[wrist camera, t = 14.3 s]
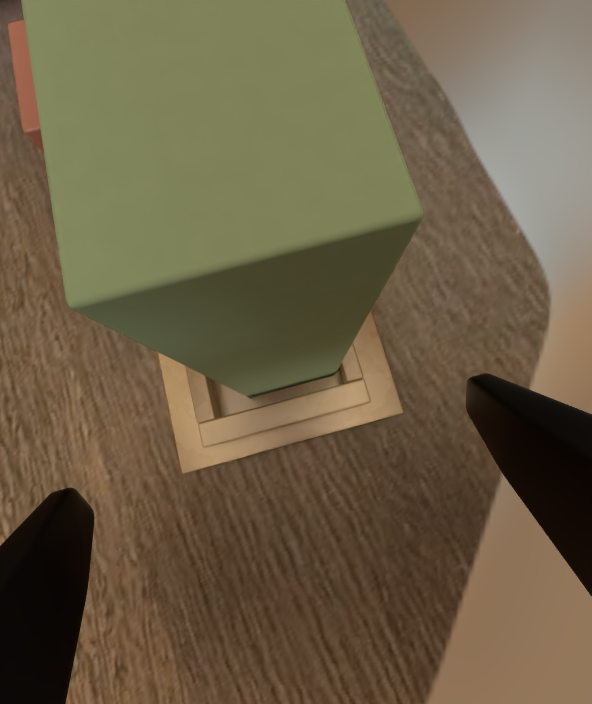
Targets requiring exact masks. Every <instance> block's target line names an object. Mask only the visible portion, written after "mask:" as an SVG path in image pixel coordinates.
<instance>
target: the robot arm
mask: <svg viewBox="0 0 592 704" xmlns="http://www.w3.org/2000/svg"><path fill="white" fill-rule="evenodd" d="M466 409H467V412H468V414H469V416H470V418H471V420H472V421H473V423H474V425H475V427H476V428H477V430H478V432H479V434H480V435H481V437H482V439H483V441H484V442H485V444H486V446H487V448H488V449H489V451H490V453H491V455H492V456H493V458H494V460H495V462H496V463H497V465H498V467H499V468H500V470H501V472H502V473H503V475H504V476H505V477H506V479H507V480H508V482H509V483H510V484H511V486H512V487H513V489H514V490H515V492H516V493H517V494H518V496H519V497H520V498H521V500H522V501H523V502H524V504H525V505H526V507H527V508H528V509H529V511H530V512H531V513H532V515H533V516H534V518H535V519H536V520H537V522H538V523H539V525H540V526H541V527H542V528H543V530H544V531H545V533H546V534H547V536H548V537H549V538H550V540H551V541H552V542H553V544H554V545H555V547H556V548H557V549H558V551H559V552H560V553H561V555H562V556H563V558H564V559H565V560H566V562H567V563H568V564H569V566H570V567H571V569H572V570H573V571H574V573H575V574H576V575H577V577H578V578H579V580H580V581H581V582H582V584H583V585H584V587H585V588H586V589H587V591H588V592H589V594H590V595H591V596H592V414H589V413H587V412H584V411H582V410H579V409H577V408H574V407H572V406H569V405H567V404H564V403H562V402H559V401H556V400H554V399H551V398H549V397H546V396H544V395H541V394H539V393H536V392H533V391H531V390H529V389H526V388H524V387H521V386H519V385H516V384H514V383H511V382H509V381H506V380H504V379H501V378H499V377H496V376H494V375H491V374H487V373H485V374H481V375H477V376H473V377H471V378H469V379H468V381H467V392H466ZM93 529H94V512H93V510H92V508H91V506H90V505H89V504H88V503H87V502H86V501H85V499H84V498H83V497H82V496H81V495H80V494H79V493H78V491H77V490H76V489H73V488H66V489H63V490H59V491H55V492H53V493H51V494H50V495H49V496H48V497H47V498H46V499H45V500H44V501H43V502H42V503H41V504H40V505H39V506H38V507H37V508H36V509H35V510H34V511H33V512H32V513H31V515H30V516H29V517H28V518H27V519H26V520H25V521H24V522H23V523H22V524H21V525H20V526H19V527H18V528H17V529H16V530H15V531H14V532H13V533H12V534H11V535H10V536H9V537H8V538H7V540H6V541H5V542H4V543H3V544H2V545H1V546H0V704H65V703H66V698H67V693H68V688H69V683H70V677H71V672H72V667H73V662H74V657H75V652H76V647H77V642H78V637H79V632H80V627H81V622H82V616H83V611H84V606H85V601H86V595H87V589H88V581H89V572H90V561H91V550H92V540H93Z"/></svg>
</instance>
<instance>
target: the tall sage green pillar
mask: <svg viewBox="0 0 592 704" xmlns="http://www.w3.org/2000/svg"><path fill="white" fill-rule="evenodd" d="M21 1H22V8H23V15H24V21H25V28H26V35H27V42H28V48H29V55H30V62H31V68H32V75H33V82H34V89H35V95H36V102H37V109H38V115H39V122H40V129H41V136H42V142H43V149H44V156H45V162H46V169H47V176H48V183H49V189H50V196H51V203H52V210H53V216H54V223H55V230H56V236H57V243H58V250H59V257H60V263H61V270H62V277H63V283H64V290H65V297H66V302H67V304H68V305H69V307H70V308H71V309H73V310H75V311H77V312H79V313H81V314H83V315H85V316H87V317H89V318H91V319H93V320H95V321H97V322H99V323H101V324H103V325H105V326H107V327H109V328H111V329H113V330H115V331H117V332H119V333H121V334H123V335H125V336H127V337H129V338H131V339H133V340H135V341H137V342H139V343H141V344H143V345H145V346H147V347H149V348H151V349H153V350H155V351H157V352H159V353H161V354H163V355H165V356H167V357H169V358H171V359H173V360H175V361H177V362H179V363H181V364H183V365H185V366H187V367H189V368H191V369H193V370H195V371H197V372H199V373H201V374H203V375H205V376H207V377H209V378H211V379H213V380H215V381H217V382H219V383H221V384H223V385H225V386H227V387H229V388H231V389H233V390H235V391H237V392H239V393H241V394H243V395H245V396H247V397H249V398H252V397H256V396H260V395H263V394H267V393H271V392H274V391H278V390H282V389H286V388H289V387H293V386H297V385H301V384H304V383H308V382H312V381H316V380H319V379H323V378H327V377H331V376H334V375H335V374H336V372H337V370H338V368H339V366H340V365H341V363H342V361H343V359H344V357H345V356H346V354H347V352H348V350H349V349H350V347H351V345H352V343H353V341H354V340H355V338H356V336H357V334H358V332H359V331H360V329H361V327H362V325H363V323H364V322H365V320H366V318H367V316H368V315H369V313H370V311H371V309H372V307H373V306H374V304H375V302H376V300H377V298H378V297H379V295H380V293H381V291H382V289H383V288H384V286H385V284H386V282H387V281H388V279H389V277H390V275H391V273H392V272H393V270H394V268H395V266H396V264H397V263H398V261H399V259H400V257H401V256H402V254H403V252H404V250H405V248H406V247H407V245H408V243H409V241H410V239H411V238H412V236H413V234H414V232H415V230H416V229H417V227H418V225H419V223H420V222H421V220H422V218H423V209H422V206H421V204H420V201H419V198H418V195H417V193H416V190H415V187H414V185H413V182H412V179H411V176H410V174H409V171H408V168H407V166H406V163H405V160H404V157H403V155H402V152H401V149H400V147H399V144H398V141H397V138H396V136H395V133H394V130H393V128H392V125H391V122H390V119H389V117H388V114H387V111H386V109H385V106H384V103H383V100H382V98H381V95H380V92H379V90H378V87H377V84H376V81H375V79H374V76H373V73H372V71H371V68H370V65H369V62H368V60H367V57H366V54H365V52H364V49H363V46H362V43H361V41H360V38H359V35H358V33H357V30H356V27H355V24H354V22H353V19H352V16H351V14H350V11H349V8H348V5H347V3H346V0H21Z"/></svg>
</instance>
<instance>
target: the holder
mask: <svg viewBox="0 0 592 704" xmlns="http://www.w3.org/2000/svg"><path fill="white" fill-rule="evenodd" d="M8 32H9V39H10V46H11V53H12V60H13V67H14V74H15V81H16V88H17V95H18V103H19V110H20V117H21V124H22V129H23V132H24V133H25V134H26V135H27V136H28V137H29V139H30V140H31V141H32V142H33V143H34V144H35V145H36V146H37V147H38V148H39V149H40V150H41V151H42V152H43V153H44V149H43V142H42V136H41V129H40V122H39V115H38V109H37V102H36V95H35V89H34V82H33V75H32V68H31V62H30V55H29V48H28V42H27V35H26V28H25V21H24V20H20V21H15V22H11V23H9V24H8ZM158 356H159V361H160V366H161V371H162V376H163V381H164V386H165V391H166V396H167V401H168V406H169V411H170V416H171V421H172V426H173V431H174V436H175V441H176V446H177V451H178V456H179V461H180V466H181V471H182V474H184V473H188V472H191V471H195V470H199V469H202V468H206V467H210V466H213V465H217V464H220V463H224V462H228V461H231V460H235V459H239V458H242V457H246V456H250V455H253V454H257V453H260V452H264V451H268V450H271V449H275V448H279V447H282V446H286V445H289V444H293V443H297V442H300V441H304V440H308V439H311V438H315V437H319V436H322V435H326V434H329V433H333V432H337V431H340V430H344V429H348V428H351V427H355V426H359V425H362V424H366V423H369V422H373V421H377V420H380V419H384V418H388V417H391V416H395V415H398V414H402V413H403V412H404V411H403V408H402V405H401V402H400V399H399V396H398V393H397V390H396V387H395V383H394V380H393V377H392V374H391V371H390V368H389V365H388V362H387V359H386V356H385V352H384V349H383V346H382V343H381V340H380V337H379V334H378V331H377V328H376V325H375V321H374V318H373V315H372V312H371V311H370V313H369V315H368V316H367V318H366V320H365V322H364V323H363V325H362V327H361V329H360V331H359V332H358V334H357V336H356V338H355V340H354V341H353V343H352V345H351V347H350V349H349V350H348V352H347V354H346V356H345V357H344V359H343V361H342V363H341V365H340V366H339V368H338V370H337V372H336V374H335V375H334V376H331V377H327V378H323V379H319V380H316V381H312V382H308V383H304V384H301V385H297V386H293V387H289V388H286V389H282V390H278V391H274V392H271V393H267V394H263V395H260V396H256V397H252V398H249V397H247V396H245V395H243V394H241V393H239V392H237V391H235V390H233V389H231V388H229V387H227V386H225V385H223V384H221V383H219V382H217V381H215V380H213V379H211V378H209V377H207V376H205V375H203V374H201V373H199V372H197V371H195V370H193V369H191V368H189V367H187V366H185V365H183V364H181V363H179V362H177V361H175V360H173V359H171V358H169V357H167V356H165V355H163V354H161V353H159V352H158Z"/></svg>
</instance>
